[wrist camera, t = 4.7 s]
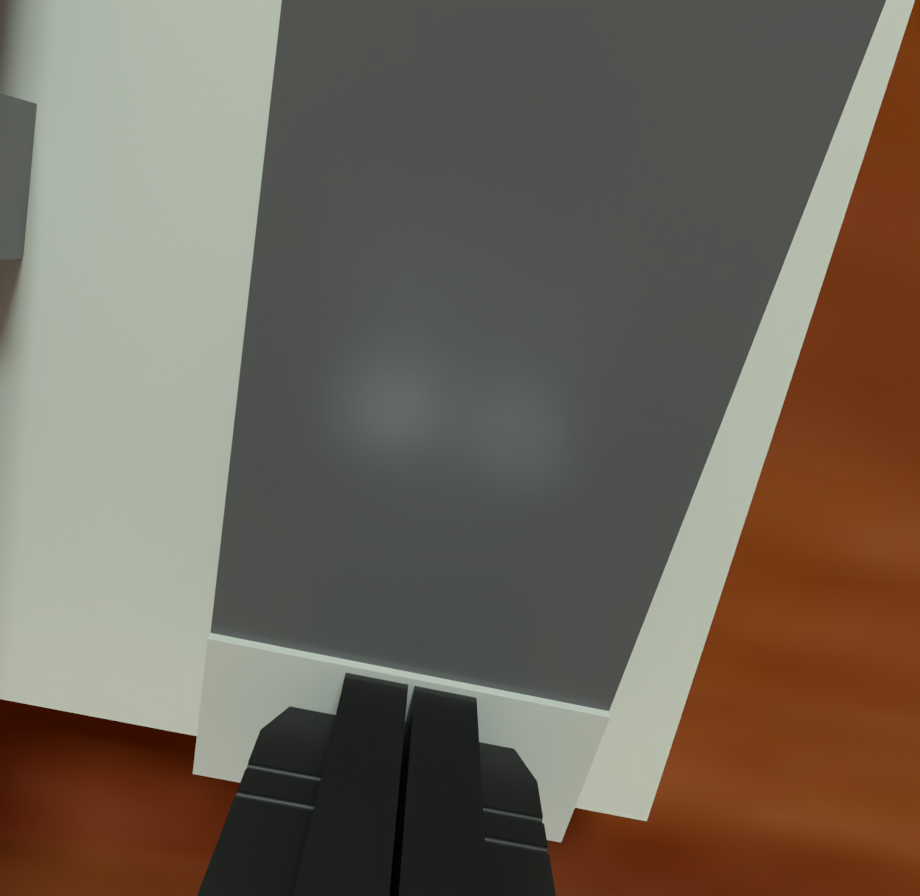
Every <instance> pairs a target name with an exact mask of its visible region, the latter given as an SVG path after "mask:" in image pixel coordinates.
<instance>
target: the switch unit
mask: <svg viewBox="0 0 920 896" xmlns="http://www.w3.org/2000/svg"><path fill="white" fill-rule="evenodd" d="M914 1H915V0H886V2H885V5H884V7H883V10H882V12H881V15H880V18H879V20H878V23H877V25H876V28H875V30H874V33H873V35H872V38H871V41H870V43H869V46H868V48H867V51H866V53H865V56H864V59H863V61H862V64H861V66H860V69H859V71H858V74H857V77H856V79H855V82H854V84H853V87H852V89H851V92H850V94H849V97H848V100H847V102H846V105H845V107H844V110H843V112H842V115H841V118H840V120H839V123H838V125H837V128H836V130H835V133H834V135H833V138H832V141H831V143H830V146H829V148H828V151H827V153H826V156H825V159H824V161H823V164H822V166H821V169H820V171H819V174H818V177H817V179H816V182H815V184H814V187H813V189H812V192H811V194H810V197H809V200H808V202H807V205H806V207H805V210H804V212H803V215H802V218H801V220H800V223H799V225H798V228H797V230H796V233H795V236H794V238H793V241H792V243H791V246H790V248H789V251H788V253H787V256H786V259H785V261H784V264H783V266H782V269H781V271H780V274H779V277H778V279H777V282H776V284H775V287H774V289H773V292H772V294H771V297H770V300H769V302H768V305H767V307H766V310H765V312H764V315H763V318H762V320H761V323H760V325H759V328H758V330H757V333H756V336H755V338H754V341H753V343H752V346H751V348H750V351H749V353H748V356H747V359H746V361H745V364H744V366H743V369H742V371H741V374H740V377H739V379H738V382H737V384H736V387H735V389H734V392H733V395H732V397H731V400H730V402H729V405H728V407H727V410H726V412H725V415H724V418H723V420H722V423H721V425H720V428H719V430H718V433H717V436H716V438H715V441H714V443H713V446H712V448H711V451H710V453H709V456H708V459H707V461H706V464H705V466H704V469H703V471H702V474H701V477H700V479H699V482H698V484H697V487H696V489H695V492H694V495H693V497H692V500H691V502H690V505H689V507H688V510H687V512H686V515H685V518H684V520H683V523H682V525H681V528H680V530H679V533H678V536H677V538H676V541H675V543H674V546H673V548H672V551H671V553H670V556H669V559H668V561H667V564H666V566H665V569H664V571H663V574H662V577H661V579H660V582H659V584H658V587H657V589H656V592H655V595H654V597H653V600H652V602H651V605H650V607H649V610H648V612H647V615H646V618H645V620H644V623H643V625H642V628H641V630H640V633H639V636H638V638H637V641H636V643H635V646H634V648H633V651H632V654H631V656H630V659H629V661H628V664H627V666H626V669H625V671H624V674H623V677H622V679H621V682H620V684H619V687H618V689H617V692H616V695H615V697H614V700H613V702H612V705H611V707H610V710H609V714H610V719H609V722H608V724H607V727H606V730H605V732H604V735H603V737H602V740H601V742H600V745H599V747H598V750H597V753H596V755H595V758H594V760H593V763H592V765H591V768H590V770H589V773H588V775H587V778H586V781H585V783H584V786H583V788H582V791H581V793H580V796H579V798H578V801H577V803H576V806H575V808H579V809H585V810H590V811H595V812H601V813H606V814H611V815H617V816H622V817H627V818H632V819H638V820H643V821H647V819H648V816H649V813H650V810H651V807H652V804H653V801H654V797H655V794H656V791H657V788H658V785H659V782H660V779H661V776H662V773H663V770H664V767H665V764H666V761H667V758H668V755H669V752H670V748H671V745H672V742H673V739H674V736H675V733H676V730H677V727H678V724H679V721H680V718H681V715H682V712H683V709H684V706H685V703H686V699H687V696H688V693H689V690H690V687H691V684H692V681H693V678H694V675H695V672H696V669H697V666H698V663H699V660H700V657H701V654H702V651H703V647H704V644H705V641H706V638H707V635H708V632H709V629H710V626H711V623H712V620H713V617H714V614H715V611H716V608H717V605H718V602H719V598H720V595H721V592H722V589H723V586H724V583H725V580H726V577H727V574H728V571H729V568H730V565H731V562H732V559H733V556H734V553H735V549H736V546H737V543H738V540H739V537H740V534H741V531H742V528H743V525H744V522H745V519H746V516H747V513H748V510H749V507H750V504H751V500H752V497H753V494H754V491H755V488H756V485H757V482H758V479H759V476H760V473H761V470H762V467H763V464H764V461H765V458H766V455H767V451H768V448H769V445H770V442H771V439H772V436H773V433H774V430H775V427H776V424H777V421H778V418H779V415H780V412H781V409H782V406H783V402H784V399H785V396H786V393H787V390H788V387H789V384H790V381H791V378H792V375H793V372H794V369H795V366H796V363H797V360H798V357H799V354H800V350H801V347H802V344H803V341H804V338H805V335H806V332H807V329H808V326H809V323H810V320H811V317H812V314H813V311H814V308H815V305H816V301H817V298H818V295H819V292H820V289H821V286H822V283H823V280H824V277H825V274H826V271H827V268H828V265H829V262H830V259H831V256H832V252H833V249H834V246H835V243H836V240H837V237H838V234H839V231H840V228H841V225H842V222H843V219H844V216H845V213H846V210H847V207H848V203H849V200H850V197H851V194H852V191H853V188H854V185H855V182H856V179H857V176H858V173H859V170H860V167H861V164H862V161H863V158H864V154H865V151H866V148H867V145H868V142H869V139H870V136H871V133H872V130H873V127H874V124H875V121H876V118H877V115H878V112H879V109H880V105H881V102H882V99H883V96H884V93H885V90H886V87H887V84H888V81H889V78H890V75H891V72H892V69H893V66H894V63H895V60H896V57H897V53H898V50H899V47H900V44H901V41H902V38H903V35H904V32H905V29H906V26H907V23H908V20H909V17H910V14H911V11H912V8H913V4H914ZM281 3H282V0H0V699H2V700H7V701H13V702H18V703H23V704H29V705H34V706H39V707H45V708H50V709H55V710H60V711H66V712H71V713H76V714H82V715H87V716H92V717H98V718H103V719H108V720H113V721H119V722H124V723H129V724H135V725H140V726H145V727H150V728H156V729H161V730H166V731H172V732H177V733H182V734H188V735H193V736H197V730H198V721H199V712H200V703H201V694H202V685H203V676H204V667H205V658H206V649H207V640H208V637H209V635H210V633H211V624H212V615H213V606H214V597H215V588H216V579H217V571H218V562H219V553H220V544H221V535H222V526H223V517H224V509H225V500H226V491H227V482H228V473H229V464H230V455H231V446H232V438H233V429H234V420H235V411H236V402H237V393H238V384H239V375H240V367H241V358H242V349H243V340H244V331H245V322H246V313H247V305H248V296H249V287H250V278H251V269H252V260H253V251H254V242H255V234H256V225H257V216H258V207H259V198H260V189H261V180H262V172H263V163H264V154H265V145H266V136H267V127H268V118H269V109H270V101H271V92H272V83H273V74H274V65H275V56H276V47H277V39H278V30H279V21H280V12H281Z"/></svg>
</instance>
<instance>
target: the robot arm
mask: <svg viewBox="0 0 920 896" xmlns="http://www.w3.org/2000/svg"><path fill="white" fill-rule="evenodd" d="M407 694H408V684H403V683H398V682H393V681H387V680H382V679H377V678H372V677H367V676H362V675H357V674H351V673H346V674H345V678H344V682H343V686H342V691H341V695H340V699H339V703H338V708H337V712H336V715H333V714H327V713H322V712H317V711H312V710H306V709H301V708H296V707H291V706H289V707H288V708H287V709H286V710H285V711H283V712H282V713H281V714H280V715H278V716H277V717H276V718H275V719H273V720H272V721H271V722H270V723H268V724H267V725H266V726H265V727H263V728H262V729H261V730H260V732H259V735H258V738H257V740H256V743H255V746H254V748H253V751H252V753H251V756H250V759H249V761H248V765H247V769H245V772H244V774H243V777H242V780H241V782H240V785H239V788H238V790H237V795H236V797H235V798H234V801H233V803H232V806H231V809H230V811H229V814H228V816H227V819H226V822H225V824H224V827H223V830H222V832H221V835H220V837H219V840H218V843H217V845H216V848H215V851H214V853H213V856H212V858H211V861H210V864H209V866H208V869H207V871H206V874H205V877H204V879H203V882H202V885H201V887H200V890H199V892H198V895H197V896H556V895H555V888H554V882H553V876H552V870H551V864H550V857H549V854H547V847H548V845H547V839H546V833H545V826H544V823H542V818H543V814H542V808H541V802H540V796H539V789H538V783H537V780H536V779H535V778H534V776H533V775H532V773H531V772H530V770H529V769H528V768H527V766H526V765H525V763H524V762H523V760H522V759H521V758H520V756H519V755H518V753H517V752H516V750H515V749H513V748H508V747H502V746H497V745H492V744H487V743H481V742H479V730H478V714H477V699H476V698H475V697H470V696H465V695H460V694H455V693H450V692H444V691H439V690H434V689H429V688H424V687H419V686H414V690H413V694H412V698H411V701H410V705H409V709H408V713H407V717H406V721H405V716H406V705H407Z"/></svg>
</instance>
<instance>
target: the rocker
mask: <svg viewBox="0 0 920 896" xmlns="http://www.w3.org/2000/svg"><path fill="white" fill-rule="evenodd" d="M885 2H886V0H282V3H281V12H280V21H279V30H278V39H277V47H276V56H275V65H274V74H273V83H272V92H271V101H270V109H269V118H268V127H267V136H266V145H265V154H264V163H263V172H262V180H261V189H260V198H259V207H258V216H257V225H256V234H255V242H254V251H253V260H252V269H251V278H250V287H249V296H248V305H247V313H246V322H245V331H244V340H243V349H242V358H241V367H240V375H239V384H238V393H237V402H236V411H235V420H234V429H233V438H232V446H231V455H230V464H229V473H228V482H227V491H226V500H225V509H224V517H223V526H222V535H221V544H220V553H219V562H218V571H217V579H216V588H215V597H214V606H213V615H212V624H211V633H210V635H209V637H208V640H207V649H206V658H205V667H204V676H203V685H202V694H201V703H200V712H199V721H198V730H197V739H196V748H195V757H194V766H193V774H196V775H201V776H206V777H212V778H217V779H223V780H228V781H233V782H239V783H240V782H241V780H242V777H243V774H244V772H245V769H247V765H248V761H249V759H250V756H251V753H252V751H253V748H254V746H255V743H256V740H257V738H258V735H259V732H260V730H261V729H262V728H263V727H265V726H266V725H267V724H268V723H270V722H271V721H272V720H273V719H275V718H276V717H277V716H278V715H280V714H281V713H282V712H283V711H285V710H286V709H287V708H288V707H289V706H291V707H296V708H301V709H306V710H312V711H317V712H322V713H327V714H333V715H336V712H337V708H338V703H339V699H340V695H341V691H342V686H343V682H344V678H345V674H346V673H351V674H357V675H362V676H367V677H372V678H377V679H382V680H387V681H393V682H398V683H403V684H408V694H407V705H406V716H405V721H406V717H407V713H408V709H409V705H410V701H411V698H412V694H413V690H414V686H419V687H424V688H429V689H434V690H439V691H444V692H450V693H455V694H460V695H465V696H470V697H475V698H476V699H477V714H478V730H479V742H481V743H487V744H492V745H497V746H502V747H508V748H513V749H515V750H516V752H517V753H518V755H519V756H520V758H521V759H522V760H523V762H524V763H525V765H526V766H527V768H528V769H529V770H530V772H531V773H532V775H533V776H534V778H535V779H536V780H537V783H538V789H539V796H540V802H541V808H542V814H543V818H542V823H544V826H545V833H546V839H547V840H551V841H556V842H562V839H563V837H564V834H565V831H566V829H567V826H568V824H569V821H570V819H571V816H572V814H573V811H574V809H575V806H576V803H577V801H578V798H579V796H580V793H581V791H582V788H583V786H584V783H585V781H586V778H587V775H588V773H589V770H590V768H591V765H592V763H593V760H594V758H595V755H596V753H597V750H598V747H599V745H600V742H601V740H602V737H603V735H604V732H605V730H606V727H607V724H608V722H609V719H610V714H609V710H610V707H611V705H612V702H613V700H614V697H615V695H616V692H617V689H618V687H619V684H620V682H621V679H622V677H623V674H624V671H625V669H626V666H627V664H628V661H629V659H630V656H631V654H632V651H633V648H634V646H635V643H636V641H637V638H638V636H639V633H640V630H641V628H642V625H643V623H644V620H645V618H646V615H647V612H648V610H649V607H650V605H651V602H652V600H653V597H654V595H655V592H656V589H657V587H658V584H659V582H660V579H661V577H662V574H663V571H664V569H665V566H666V564H667V561H668V559H669V556H670V553H671V551H672V548H673V546H674V543H675V541H676V538H677V536H678V533H679V530H680V528H681V525H682V523H683V520H684V518H685V515H686V512H687V510H688V507H689V505H690V502H691V500H692V497H693V495H694V492H695V489H696V487H697V484H698V482H699V479H700V477H701V474H702V471H703V469H704V466H705V464H706V461H707V459H708V456H709V453H710V451H711V448H712V446H713V443H714V441H715V438H716V436H717V433H718V430H719V428H720V425H721V423H722V420H723V418H724V415H725V412H726V410H727V407H728V405H729V402H730V400H731V397H732V395H733V392H734V389H735V387H736V384H737V382H738V379H739V377H740V374H741V371H742V369H743V366H744V364H745V361H746V359H747V356H748V353H749V351H750V348H751V346H752V343H753V341H754V338H755V336H756V333H757V330H758V328H759V325H760V323H761V320H762V318H763V315H764V312H765V310H766V307H767V305H768V302H769V300H770V297H771V294H772V292H773V289H774V287H775V284H776V282H777V279H778V277H779V274H780V271H781V269H782V266H783V264H784V261H785V259H786V256H787V253H788V251H789V248H790V246H791V243H792V241H793V238H794V236H795V233H796V230H797V228H798V225H799V223H800V220H801V218H802V215H803V212H804V210H805V207H806V205H807V202H808V200H809V197H810V194H811V192H812V189H813V187H814V184H815V182H816V179H817V177H818V174H819V171H820V169H821V166H822V164H823V161H824V159H825V156H826V153H827V151H828V148H829V146H830V143H831V141H832V138H833V135H834V133H835V130H836V128H837V125H838V123H839V120H840V118H841V115H842V112H843V110H844V107H845V105H846V102H847V100H848V97H849V94H850V92H851V89H852V87H853V84H854V82H855V79H856V77H857V74H858V71H859V69H860V66H861V64H862V61H863V59H864V56H865V53H866V51H867V48H868V46H869V43H870V41H871V38H872V35H873V33H874V30H875V28H876V25H877V23H878V20H879V18H880V15H881V12H882V10H883V7H884V5H885Z"/></svg>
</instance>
